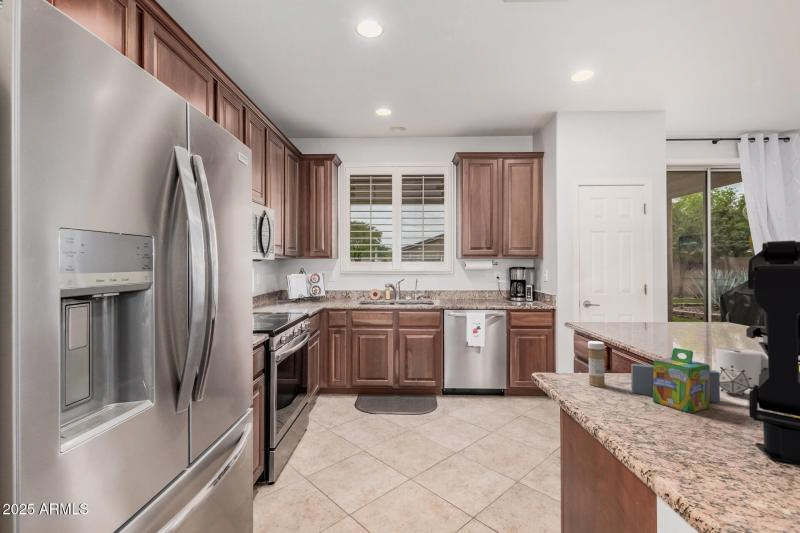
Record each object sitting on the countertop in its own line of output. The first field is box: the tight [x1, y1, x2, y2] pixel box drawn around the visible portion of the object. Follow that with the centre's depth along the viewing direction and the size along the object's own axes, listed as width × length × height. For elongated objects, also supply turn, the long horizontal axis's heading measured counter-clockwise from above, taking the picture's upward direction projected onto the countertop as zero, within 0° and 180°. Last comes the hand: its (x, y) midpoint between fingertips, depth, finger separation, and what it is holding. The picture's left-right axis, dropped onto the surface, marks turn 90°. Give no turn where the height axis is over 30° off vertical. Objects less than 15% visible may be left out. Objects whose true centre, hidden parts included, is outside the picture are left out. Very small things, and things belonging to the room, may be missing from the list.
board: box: [630, 363, 721, 403], centre depth 103 cm, size 2×20×8 cm, turn 66°
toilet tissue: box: [715, 346, 768, 388], centre depth 115 cm, size 11×12×10 cm
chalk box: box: [652, 347, 711, 414], centre depth 97 cm, size 9×9×15 cm
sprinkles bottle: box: [587, 340, 606, 388], centre depth 114 cm, size 5×5×14 cm
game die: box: [719, 366, 754, 398], centre depth 105 cm, size 9×8×10 cm
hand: (783, 377), depth 81 cm, fingers closed
